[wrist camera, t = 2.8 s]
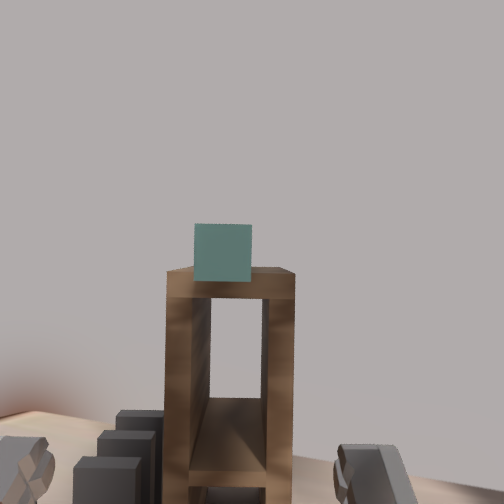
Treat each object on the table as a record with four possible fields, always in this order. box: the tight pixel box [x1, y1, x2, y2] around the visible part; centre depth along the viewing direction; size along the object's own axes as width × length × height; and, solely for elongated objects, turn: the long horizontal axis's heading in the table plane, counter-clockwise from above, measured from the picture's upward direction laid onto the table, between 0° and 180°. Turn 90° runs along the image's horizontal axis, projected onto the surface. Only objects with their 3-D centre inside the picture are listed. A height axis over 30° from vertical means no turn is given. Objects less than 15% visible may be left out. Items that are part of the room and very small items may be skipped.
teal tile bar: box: [194, 224, 252, 282], centre depth 29 cm, size 3×21×3 cm, turn 1°
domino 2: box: [97, 430, 156, 504], centre depth 34 cm, size 2×5×10 cm, turn 90°
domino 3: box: [116, 410, 164, 504], centre depth 38 cm, size 2×5×10 cm, turn 90°
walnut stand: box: [162, 266, 295, 504], centre depth 34 cm, size 10×14×26 cm
